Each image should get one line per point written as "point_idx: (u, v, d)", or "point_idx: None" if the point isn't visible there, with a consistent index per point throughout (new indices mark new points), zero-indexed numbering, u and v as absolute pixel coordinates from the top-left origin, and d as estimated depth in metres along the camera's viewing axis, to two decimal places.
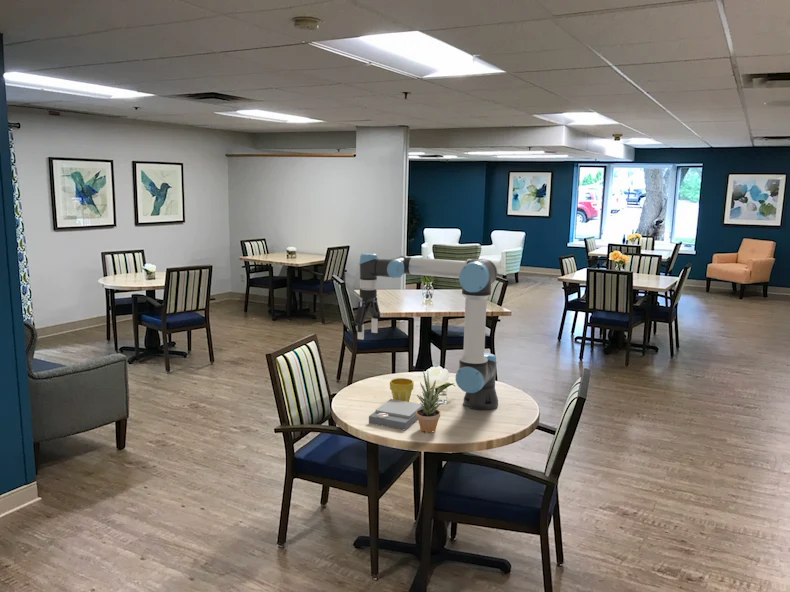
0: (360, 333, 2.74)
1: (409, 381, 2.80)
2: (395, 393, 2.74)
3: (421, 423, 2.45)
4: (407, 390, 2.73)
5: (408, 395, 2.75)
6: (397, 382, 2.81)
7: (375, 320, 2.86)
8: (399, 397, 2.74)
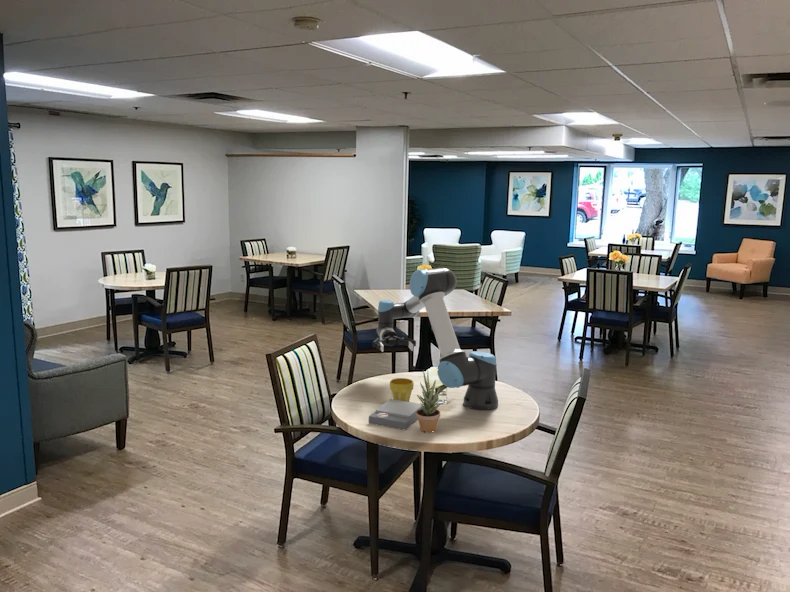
0: (381, 347, 2.85)
1: (409, 381, 2.80)
2: (395, 393, 2.74)
3: (421, 423, 2.45)
4: (407, 390, 2.73)
5: (408, 395, 2.75)
6: (397, 382, 2.81)
7: (409, 343, 2.91)
8: (399, 397, 2.74)
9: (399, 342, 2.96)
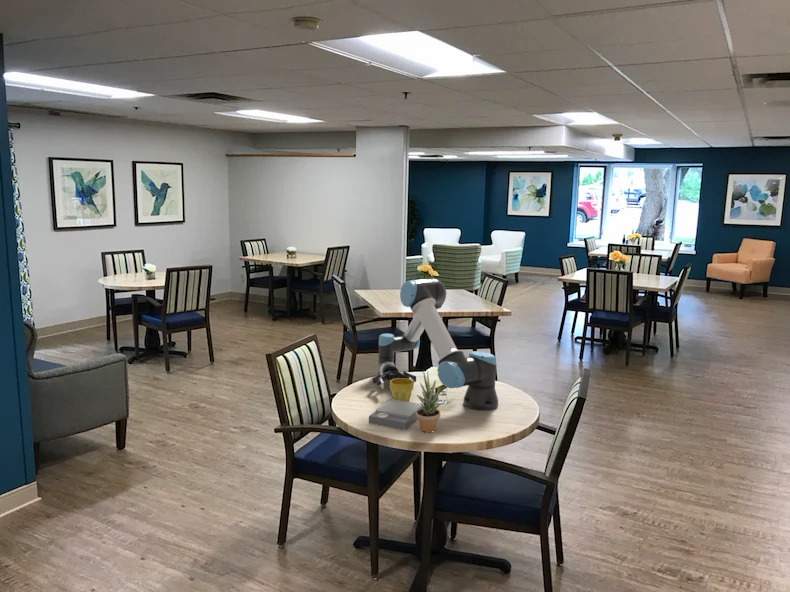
0: (381, 383, 2.85)
1: (409, 381, 2.80)
2: (395, 393, 2.74)
3: (421, 423, 2.45)
4: (407, 390, 2.73)
5: (408, 395, 2.75)
6: (397, 382, 2.81)
7: None
8: (399, 397, 2.74)
9: (399, 377, 2.96)
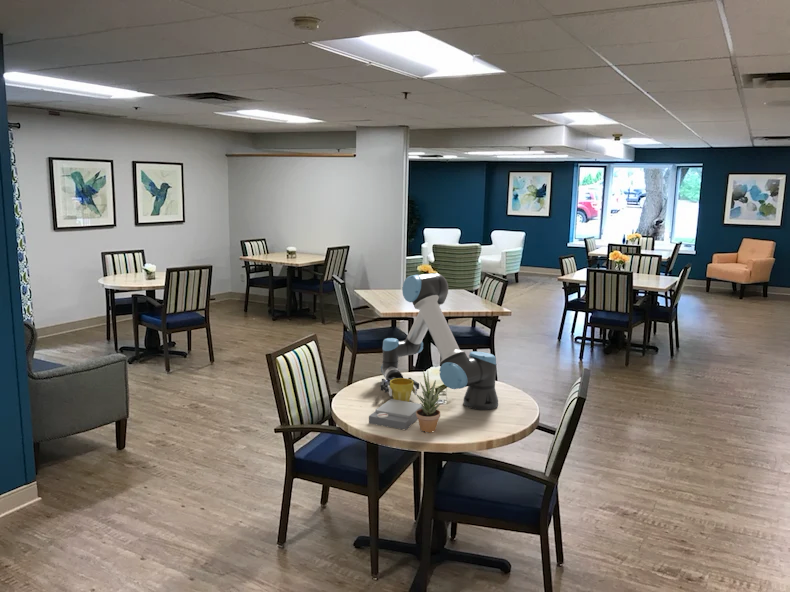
0: (389, 391, 2.75)
1: (409, 381, 2.80)
2: (395, 393, 2.74)
3: (421, 423, 2.45)
4: (407, 390, 2.73)
5: (408, 395, 2.75)
6: (397, 382, 2.81)
7: None
8: (399, 397, 2.74)
9: None
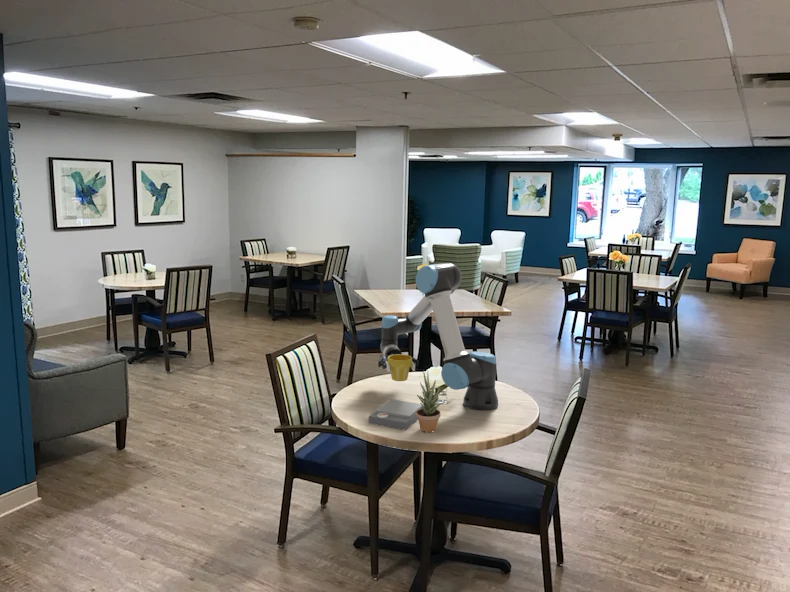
0: (386, 366, 2.69)
1: (407, 357, 2.75)
2: (393, 369, 2.69)
3: (421, 423, 2.45)
4: (405, 366, 2.67)
5: (406, 371, 2.70)
6: (395, 358, 2.76)
7: None
8: (397, 373, 2.69)
9: None
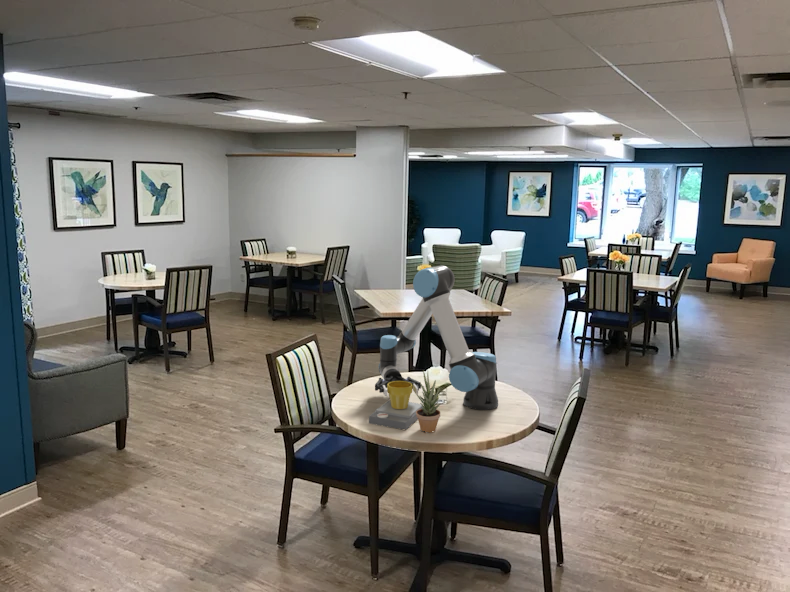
0: (384, 390, 2.58)
1: (408, 384, 2.63)
2: (393, 397, 2.57)
3: (421, 423, 2.45)
4: (405, 393, 2.56)
5: (407, 399, 2.58)
6: (395, 385, 2.64)
7: (413, 385, 2.63)
8: (397, 401, 2.57)
9: None
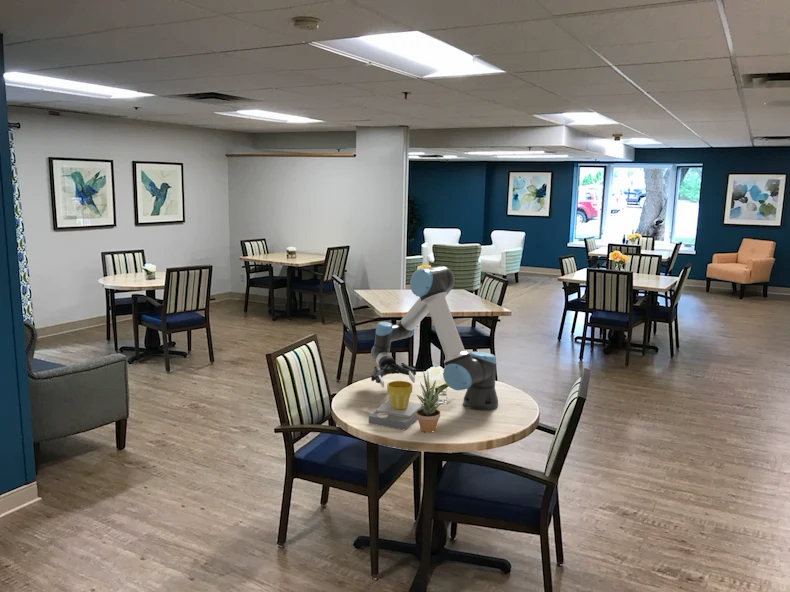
0: (380, 382, 2.71)
1: (408, 384, 2.63)
2: (393, 397, 2.57)
3: (421, 423, 2.45)
4: (405, 394, 2.56)
5: (407, 399, 2.58)
6: (395, 385, 2.64)
7: (409, 373, 2.77)
8: (397, 401, 2.57)
9: (398, 371, 2.82)
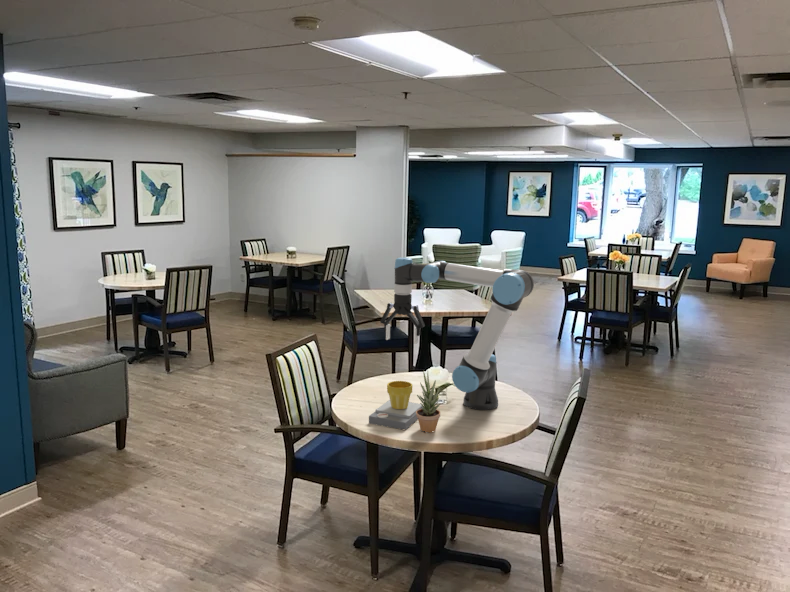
0: None
1: (408, 384, 2.63)
2: (393, 397, 2.57)
3: (421, 423, 2.45)
4: (405, 394, 2.56)
5: (407, 399, 2.58)
6: (395, 385, 2.64)
7: None
8: (397, 401, 2.57)
9: None
